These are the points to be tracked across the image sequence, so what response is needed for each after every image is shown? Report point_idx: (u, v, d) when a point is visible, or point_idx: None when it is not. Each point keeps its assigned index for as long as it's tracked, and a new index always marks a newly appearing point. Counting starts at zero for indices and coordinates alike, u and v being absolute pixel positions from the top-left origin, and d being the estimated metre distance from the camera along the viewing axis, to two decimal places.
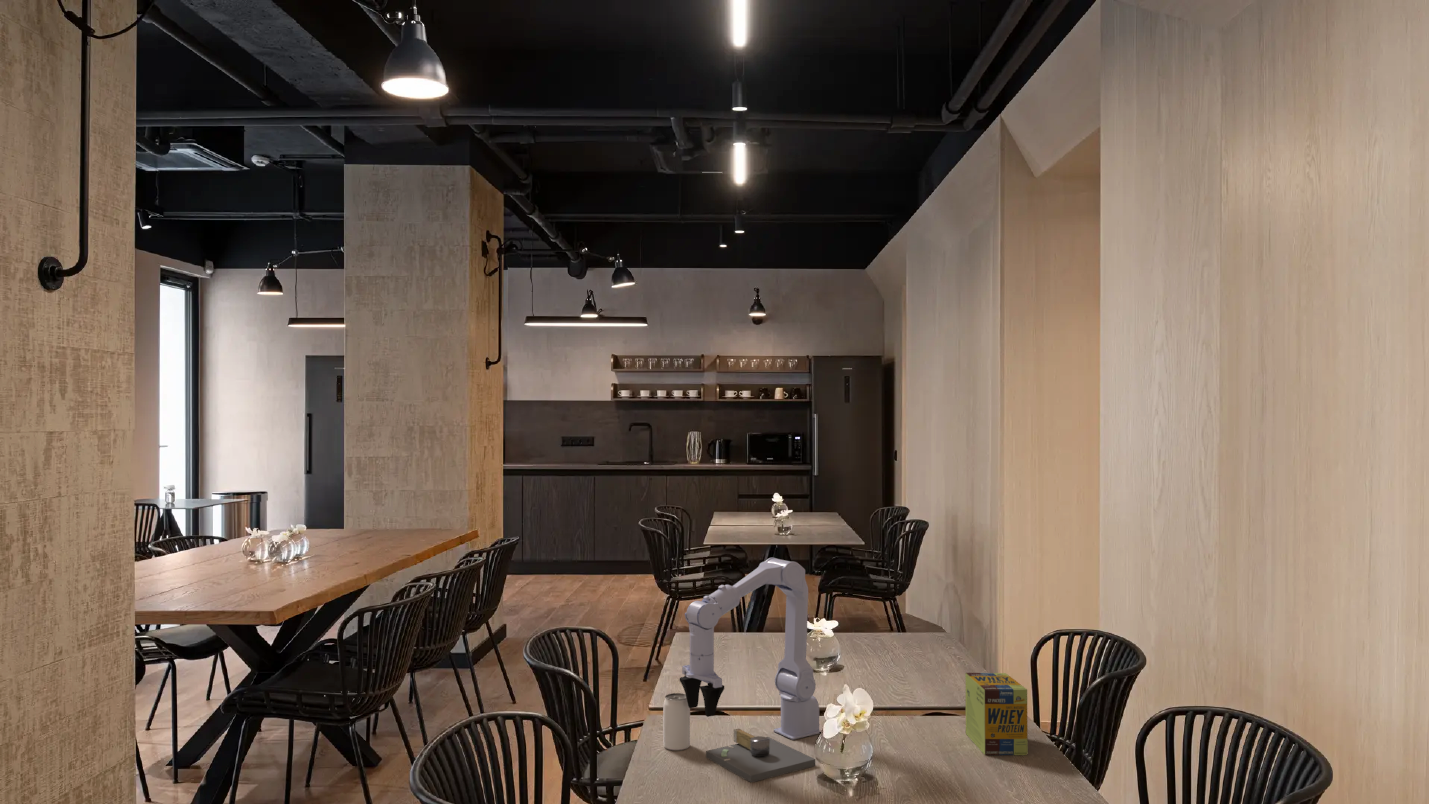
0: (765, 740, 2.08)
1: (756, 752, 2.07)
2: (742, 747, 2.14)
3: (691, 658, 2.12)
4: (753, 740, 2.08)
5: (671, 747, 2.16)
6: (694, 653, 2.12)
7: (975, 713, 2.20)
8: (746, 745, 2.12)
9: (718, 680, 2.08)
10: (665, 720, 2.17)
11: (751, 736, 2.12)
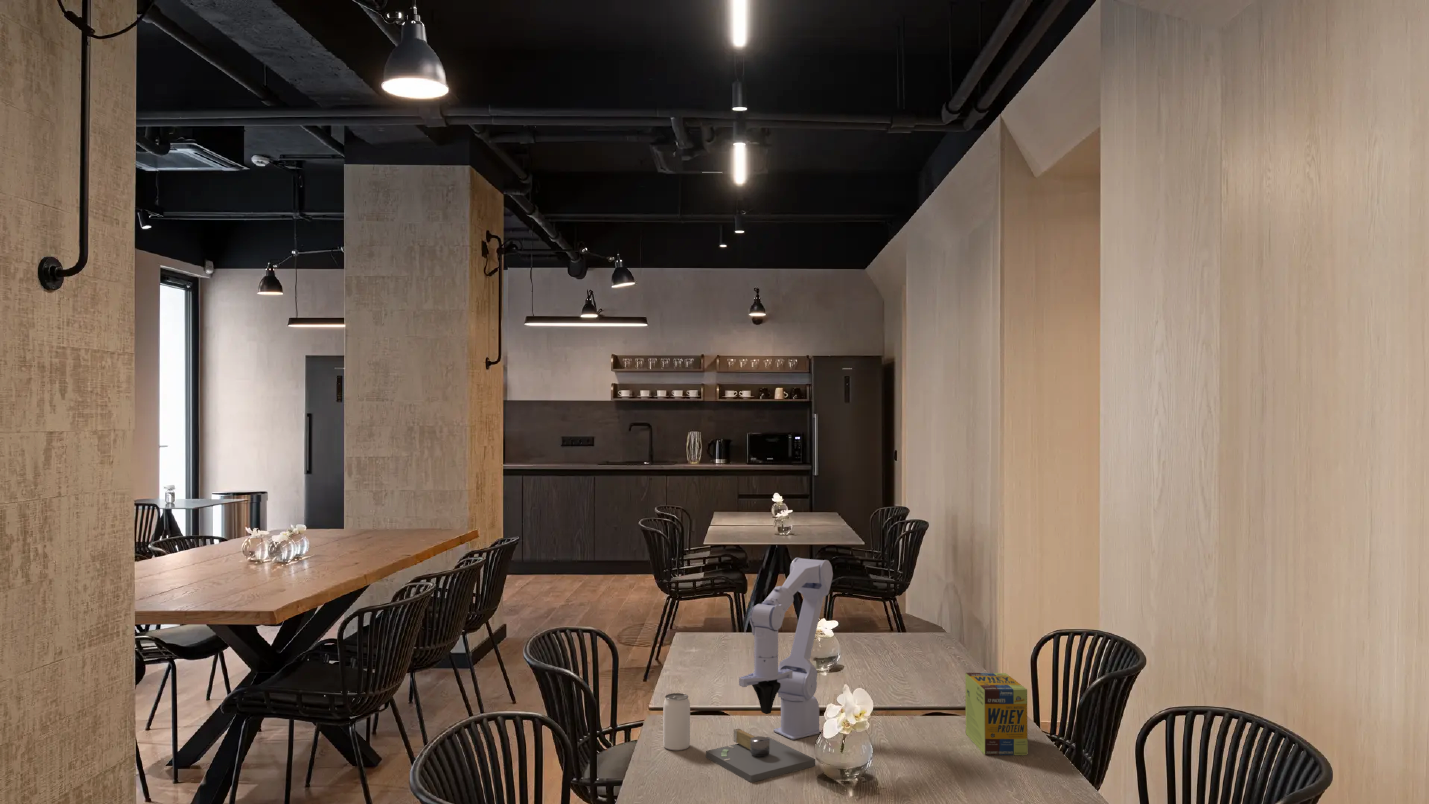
0: (765, 740, 2.08)
1: (756, 752, 2.07)
2: (742, 747, 2.14)
3: None
4: (753, 740, 2.08)
5: (671, 747, 2.16)
6: (764, 655, 2.14)
7: (975, 713, 2.20)
8: (746, 745, 2.12)
9: (741, 679, 2.13)
10: (665, 720, 2.17)
11: (751, 736, 2.12)
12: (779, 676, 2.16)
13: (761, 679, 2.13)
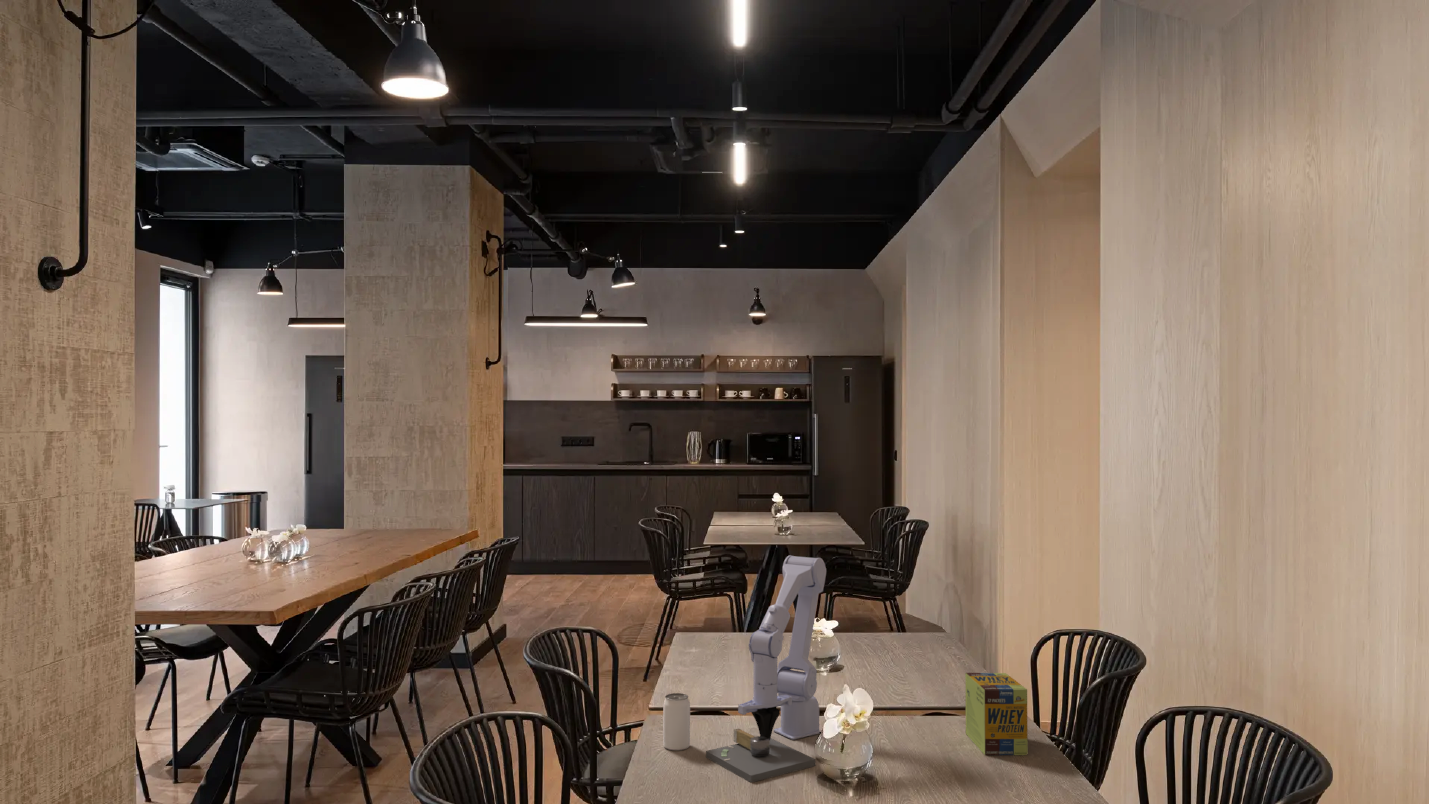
0: (765, 740, 2.08)
1: (756, 752, 2.07)
2: (742, 747, 2.14)
3: None
4: (753, 740, 2.08)
5: (671, 747, 2.16)
6: (763, 683, 2.14)
7: (975, 713, 2.20)
8: (746, 745, 2.12)
9: (740, 706, 2.12)
10: (665, 720, 2.17)
11: (751, 736, 2.12)
12: (778, 703, 2.15)
13: (760, 706, 2.13)
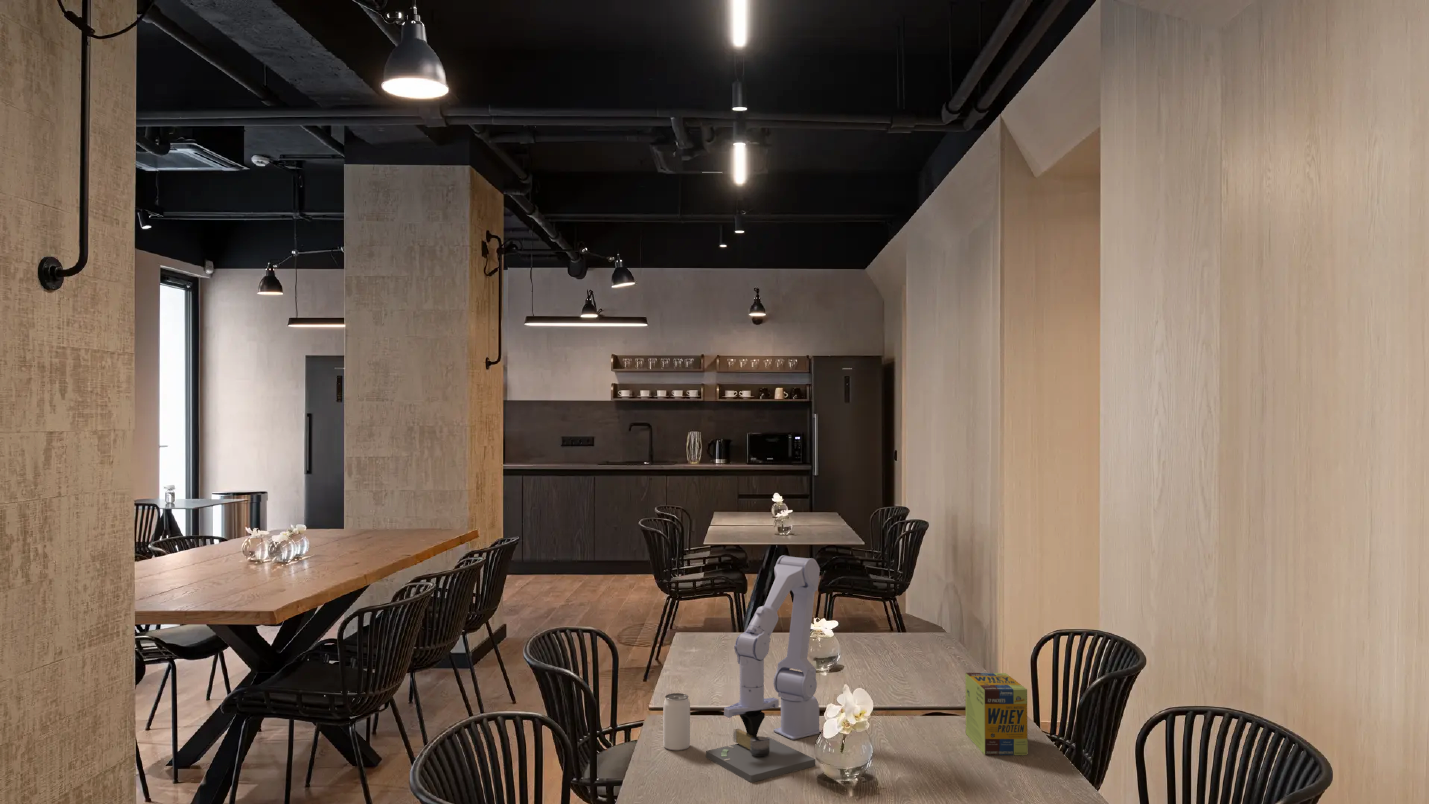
0: (765, 740, 2.08)
1: (756, 752, 2.07)
2: (742, 747, 2.14)
3: None
4: (753, 740, 2.08)
5: (671, 747, 2.16)
6: (748, 685, 2.11)
7: (975, 713, 2.20)
8: (746, 745, 2.12)
9: (726, 709, 2.10)
10: (665, 720, 2.17)
11: (751, 736, 2.12)
12: (765, 706, 2.13)
13: (746, 709, 2.11)
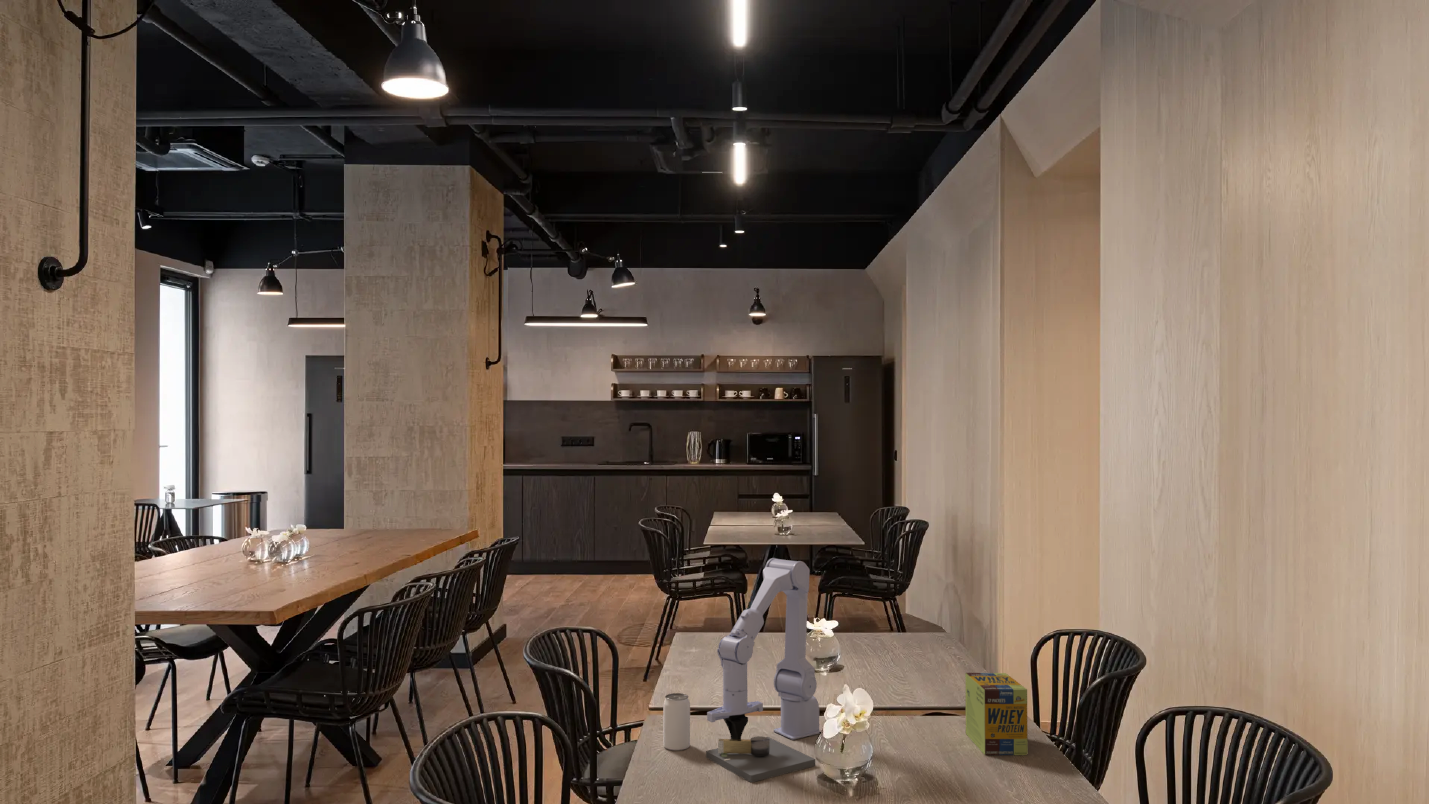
0: (765, 738, 2.10)
1: (765, 752, 2.07)
2: None
3: None
4: (758, 742, 2.07)
5: (671, 747, 2.16)
6: (731, 689, 2.09)
7: (975, 713, 2.20)
8: (740, 751, 2.08)
9: (709, 714, 2.08)
10: (665, 720, 2.17)
11: (745, 740, 2.09)
12: (748, 710, 2.11)
13: (730, 714, 2.08)
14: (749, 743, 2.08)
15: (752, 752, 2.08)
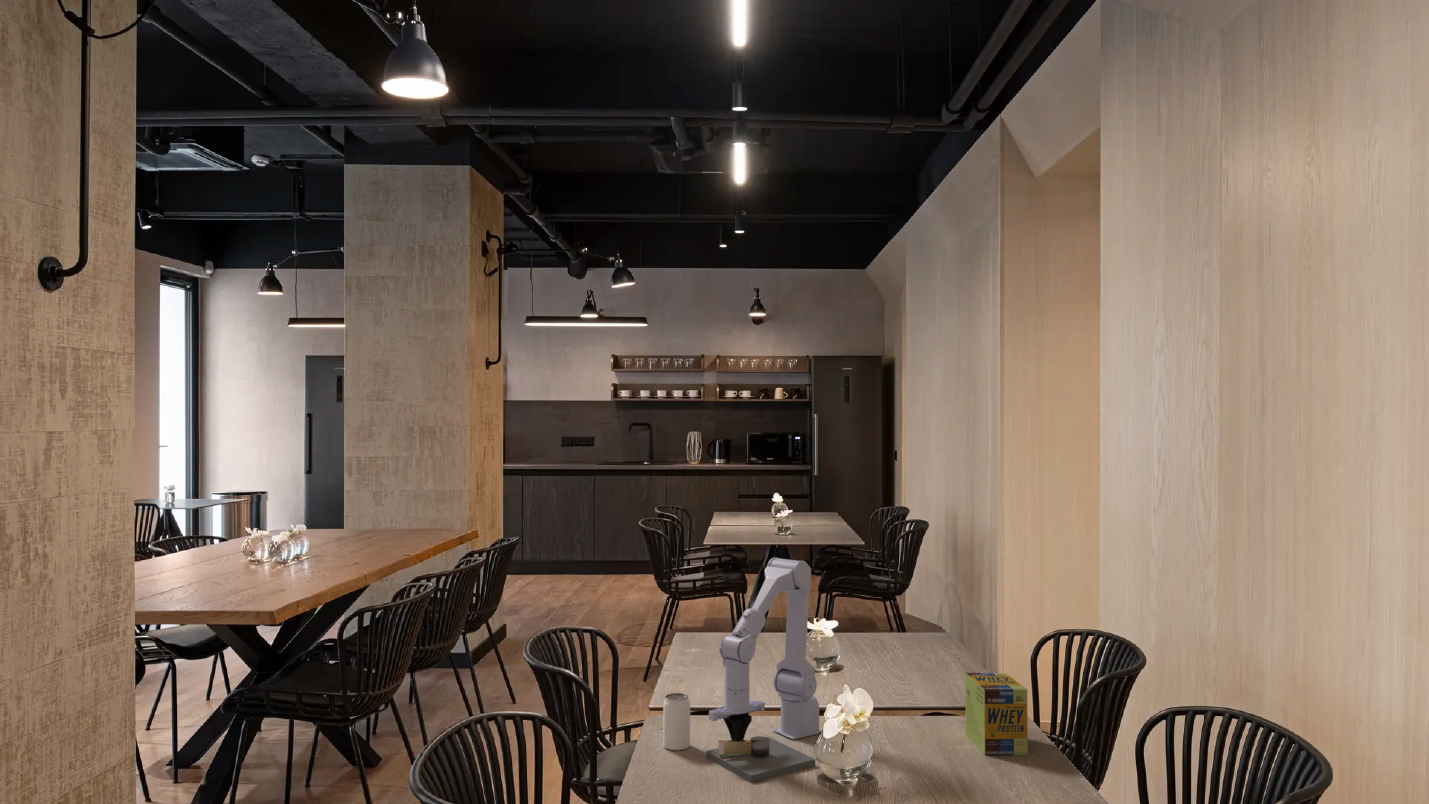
0: (765, 738, 2.10)
1: (766, 752, 2.07)
2: None
3: None
4: (759, 742, 2.07)
5: (671, 747, 2.16)
6: (733, 688, 2.09)
7: (975, 713, 2.20)
8: (740, 752, 2.08)
9: (711, 713, 2.08)
10: (665, 720, 2.17)
11: (745, 740, 2.09)
12: (750, 709, 2.11)
13: (731, 713, 2.08)
14: (749, 743, 2.08)
15: (753, 752, 2.07)
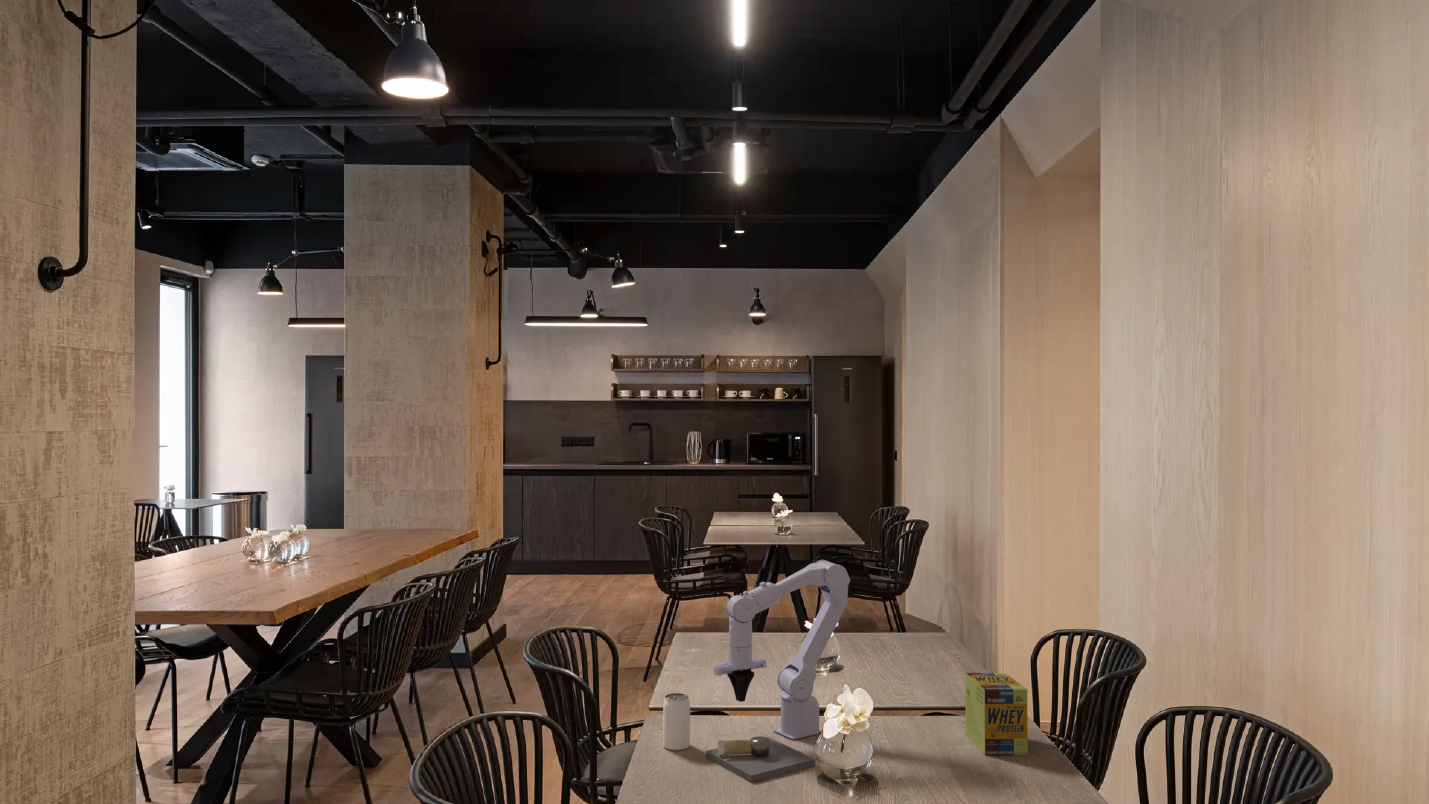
0: (765, 738, 2.10)
1: (766, 752, 2.07)
2: None
3: None
4: (759, 742, 2.07)
5: (671, 747, 2.16)
6: (731, 644, 2.23)
7: (975, 713, 2.20)
8: (740, 752, 2.08)
9: (716, 668, 2.21)
10: (665, 720, 2.17)
11: (745, 740, 2.09)
12: (753, 665, 2.24)
13: (735, 668, 2.21)
14: (749, 743, 2.08)
15: (753, 752, 2.07)
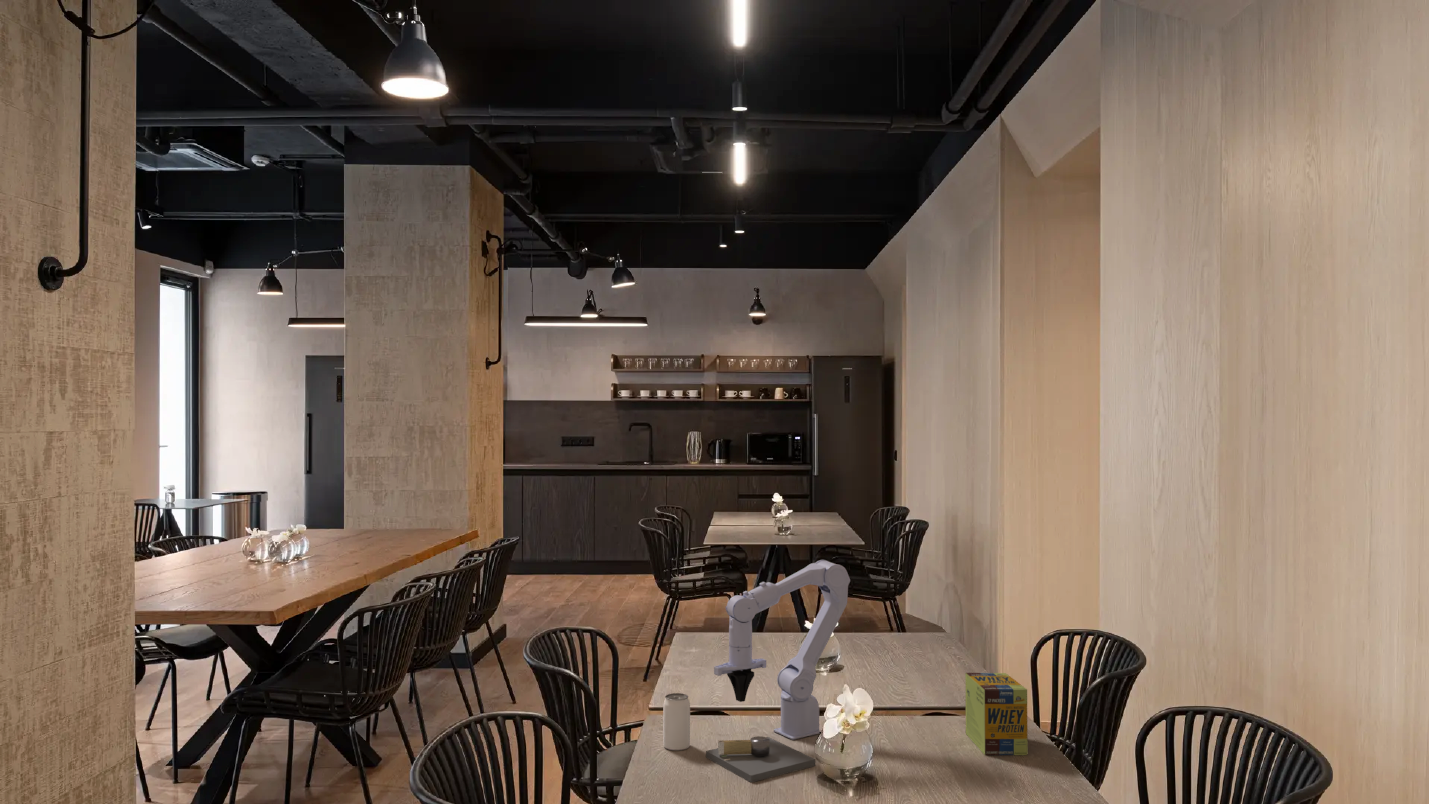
0: (765, 738, 2.10)
1: (766, 752, 2.07)
2: None
3: None
4: (759, 742, 2.07)
5: (671, 747, 2.16)
6: (731, 644, 2.23)
7: (975, 713, 2.20)
8: (740, 752, 2.08)
9: (716, 668, 2.21)
10: (665, 720, 2.17)
11: (745, 740, 2.09)
12: (753, 665, 2.24)
13: (735, 668, 2.21)
14: (749, 743, 2.08)
15: (753, 752, 2.07)
